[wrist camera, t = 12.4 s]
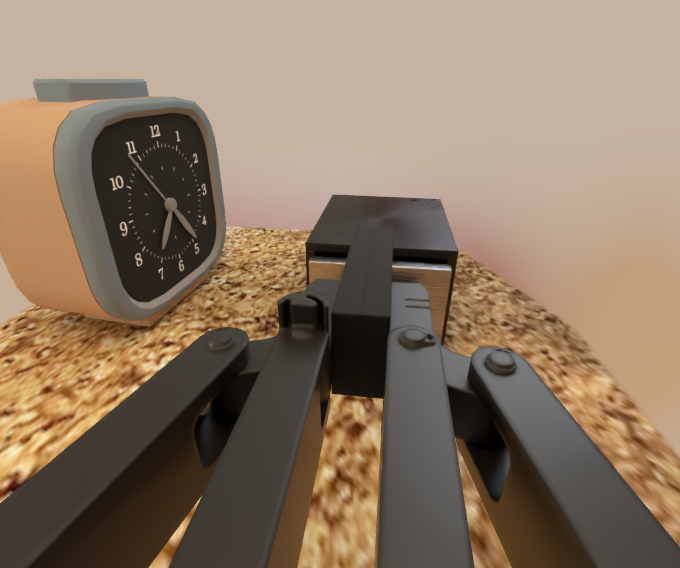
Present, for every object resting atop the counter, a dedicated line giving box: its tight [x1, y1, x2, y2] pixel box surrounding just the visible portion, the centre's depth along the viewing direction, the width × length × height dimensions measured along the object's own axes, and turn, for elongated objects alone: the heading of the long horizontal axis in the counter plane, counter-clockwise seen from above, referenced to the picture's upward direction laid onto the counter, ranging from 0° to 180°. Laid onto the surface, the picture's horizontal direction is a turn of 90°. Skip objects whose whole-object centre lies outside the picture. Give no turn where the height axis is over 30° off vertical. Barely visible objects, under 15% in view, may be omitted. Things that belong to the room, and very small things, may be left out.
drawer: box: [309, 252, 452, 343], centre depth 38 cm, size 19×11×8 cm, turn 172°
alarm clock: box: [0, 79, 226, 327], centre depth 40 cm, size 21×10×22 cm, turn 167°
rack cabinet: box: [306, 195, 458, 346], centre depth 42 cm, size 16×13×10 cm
